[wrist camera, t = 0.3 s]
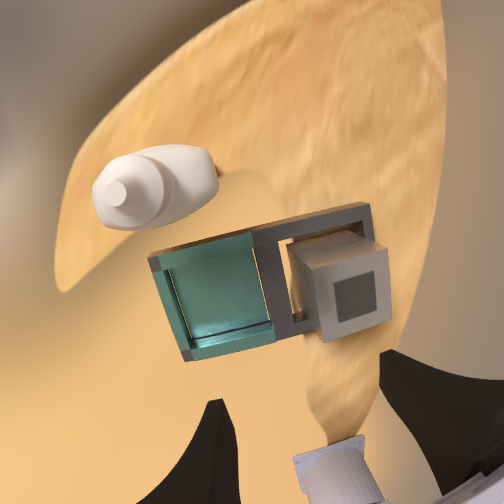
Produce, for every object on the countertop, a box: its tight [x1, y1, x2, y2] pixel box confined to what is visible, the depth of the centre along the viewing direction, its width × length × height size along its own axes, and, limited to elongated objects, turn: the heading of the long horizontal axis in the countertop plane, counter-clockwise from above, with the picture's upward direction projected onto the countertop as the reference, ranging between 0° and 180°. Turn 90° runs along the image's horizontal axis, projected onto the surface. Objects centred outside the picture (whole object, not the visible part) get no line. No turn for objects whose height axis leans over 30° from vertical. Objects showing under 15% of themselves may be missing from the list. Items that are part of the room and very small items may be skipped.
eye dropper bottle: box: [92, 145, 219, 231], centre depth 13 cm, size 4×6×12 cm
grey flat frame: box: [147, 202, 375, 362], centre depth 21 cm, size 8×15×2 cm, turn 103°
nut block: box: [286, 230, 392, 343], centre depth 19 cm, size 4×4×6 cm
